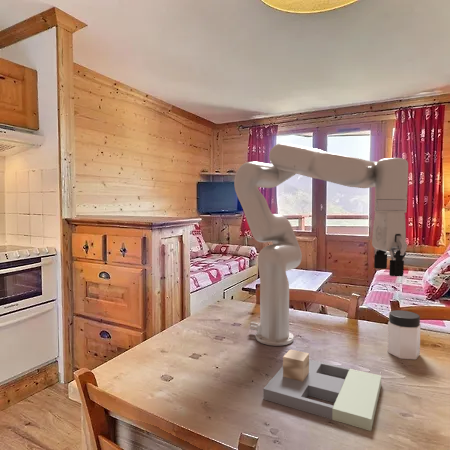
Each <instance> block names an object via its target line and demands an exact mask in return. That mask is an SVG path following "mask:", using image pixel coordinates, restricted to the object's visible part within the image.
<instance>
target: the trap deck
mask: <svg viewBox="0 0 450 450" xmlns="http://www.w3.org/2000/svg"><path fill="white" fill-rule="evenodd" d="M381 388H382V375H381V374H375V373H371V372H367V371H362V370H361V371H360V370H357V369H353V368H350V367H346V366H341V365H336V364H332V363H328V362H322V361H319V360H313V359H310V358H309V373H308V375H307V376H306V378H305V379H304V381H303V382H302V381H298V380H294V379H290V378H287V377H283V365H282V366H281V368H279V370H277V372H276V373H275V374H274V376H273V377H272V378H271V379H270V380H269V382H268V383H267V384H266V385H265V386H264V387H263V389H262V390H263V392H262V393H263V400H265V401H269V402H272V403H274V404H278V405H282V406H284V407H289V408H290V409H295V410H297V411H298V410H299V411H302V412H305V413H309V414H312V415H316V416H319V417H323V418H325V419H329V420H332V421H335V422H340V423H343V424H346V425H349V426H353V427H357V428H359V429H362V430H366V431H369V432H372V430H373V426H374V420H375V415H376V412H377V407H378V406H377V405H378V403H379V402H378V401H379V397H380V393H381ZM308 396H309V397H312V398H316V399H320V400H324V401H326V402H330V403H333V405H332V404H330V403H325V402H321V401H319V400H316V399H311V398H308Z"/></svg>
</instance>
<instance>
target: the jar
mask: <svg viewBox="0 0 450 450" xmlns="http://www.w3.org/2000/svg"><path fill="white" fill-rule="evenodd" d="M388 320H389V321H388V322H387V353H389V354H390V355H393V356H394V357H396V358H397V359H401V360H402V359H403V360H417V359H418V358H419V356H420V354H421V351H420V350H421V325H422V324H421V316H420V314H419V313H418V314H417V313H416V312H412V311H407V310H403V309H402V310H400V309H399V310H397V309H396V310H391V311H390V312H389V315H388Z"/></svg>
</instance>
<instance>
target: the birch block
mask: <svg viewBox="0 0 450 450" xmlns="http://www.w3.org/2000/svg"><path fill="white" fill-rule="evenodd" d="M309 359H310V353H308V352H305V351H301V350H295V349H289V350H288V351H287V352H286V353H284V355H283V356H282V366H283V377H287V378H290V379H294V380H298V381H302V382H303V381H304V379H305V378H306V376H307V375H308V373H309Z"/></svg>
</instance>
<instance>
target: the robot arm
mask: <svg viewBox="0 0 450 450" xmlns="http://www.w3.org/2000/svg"><path fill="white" fill-rule="evenodd" d="M268 159H269V162H270V163H266V162H260V161H247V162H244V163H243V164H241V165H240V166H239V168H238V169H237V171H236V173H235V175H234V185H233V186H234V191H235V193H236V197H237V199H238V201H239V202H240V203H239V204H240V205H241V208H242V209H243V210H242V211H243V213H244V215H245V219H246V222H247V225H248V227H249V230H250V233H251V236H252V237H253V238H254V240H255V241H256V242H258V243H270V242H271V243H272V244H270V245H269V244H268V245H266V246H264V247H262V249H261V250H259V253H258V255H257V269H258V273H259V291H260V295H259V300H260V303H259V308H260V309H259V312H260V313H259V314H260V317H259V319H260V321H259V323H258V322H254V321H250V323H249V329H250V330H252V331H256V333H255V340H256V341H257V342H258V343H261V344H264V345H266V346H267V345H268V346H272V347H273V346H275V347H278V346H280V347H281V346H286V345H290V344H292V343H293V342H294V339H295V336H294V334H293V333H292V332H290V283H289V282H290V281H289V278H288V277H287V276H288V275H287V271H291V270H293V269H296V268H297V267H299V266H300V265H301V262H302V258H303V256H302V255H303V253H302V249H301V246H300V245H299V240H298V239H297V237H296V234H295V231H294V229H293V227H292V224H291V223H290V221H289V219H288V218H287V217H286V216H284V215H282V214H279V213H272V211H271V209H270V207H269V205H268V201H267V199H266V197H265V196H264V195H263V193H262V192H261V191H260V190H259V188H260V189H264V188H265V189H273V188H276V187H278V186H279V185H281V184H283V183H284V182H286V181H287V180H289V179H290V178H292V177H293V176H295V175H300V176H303V177H306V178H312V179H317V180H322V181H325V182H329V183H333V184H336V185H340V186H344V187H349V188H356V189H357V188H358V189H369V188H374V213H375V214H374V218H373V226H372V235H371V237H372V239H371V246H372V247H373V248H374V263H373V264H374V266H373V268H374V269H376V270H378V269H382V270H386V269H388V254H387V252H388V251H389V255H390V258H391V259H390V260H389V269H388V271H389V272H388V273H389V274H388V275H389V276H390V277H403V276H404V273H405V272H404V268H405V266H404V265H405V260H406V257H405V256H406V255H407V252H406V251H407V249H408V244H407V242H406V239H407V238H406V231H407V230H406V229H407V228H406V215H405V213H407V210H408V209H407V208H408V207H407V205H408V183H409V181H408V179H409V162H408V160H407V159H405V158H402V157H390V158H389V157H386V158H381V159H379V160H378V161H370V160H366V159H363V158H358V157H353V156H348V155H342V154H337V153H332V152H327V151H324V150H322V149H320V148H319V149H318V148H313V147H309V146H305V145H304V146H303V145H298V144H293V143H286V142H280V143H276V144H275V145H273V147H272V148H271V149H270V151H269V155H268Z"/></svg>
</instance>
